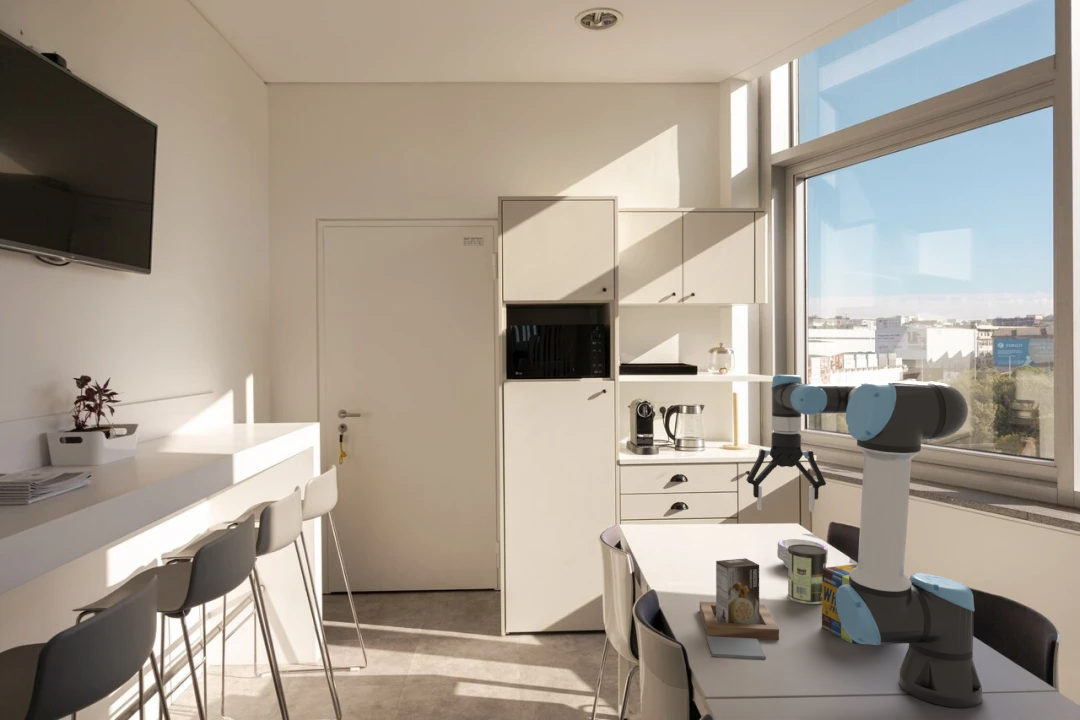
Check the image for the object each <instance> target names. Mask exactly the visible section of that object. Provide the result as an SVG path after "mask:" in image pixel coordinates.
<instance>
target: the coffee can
mask: <svg viewBox="0 0 1080 720" xmlns="http://www.w3.org/2000/svg"><path fill="white" fill-rule="evenodd" d="M826 553H827V551H826V550H825V549H823V548H821V547H818V546H813V545H805V544H797V545H791V546H789V547H788V568H787V571H788V575H787V597H788V599H789V600H792V601H793V602H796V603H799V604H805V605H820V604H821V605H822V572H823V568H827V563H826Z"/></svg>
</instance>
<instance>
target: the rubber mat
mask: <svg viewBox="0 0 1080 720" xmlns="http://www.w3.org/2000/svg"><path fill="white" fill-rule="evenodd" d="M706 641H707V643H708V647H709V649H710V650H709V651H710V654H711V656H712V657H719V658H720V657H721V658H738V659H755V660H756V659H759V660H760V659H761V660H766V659H767V655H766V654H765V652H764V650H763V648H762V645H761V643H760V642H759V640H758V639H756V638H735V637H713V636H708V635H707V636H706Z"/></svg>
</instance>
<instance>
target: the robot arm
mask: <svg viewBox="0 0 1080 720" xmlns="http://www.w3.org/2000/svg"><path fill="white" fill-rule="evenodd" d="M771 385H772V386H771V430H772V432H771V442H770V443H771V448H770V450H769V449H768V450H767V449H763V448H759V450H758V456H757V459H756V461H755V462H754V464H753V466H752V468H751V470H750V472H749V474H748V475H747V477H746V481H747V482H746V483H748V484H750V485H752V486H753V489H752V492H753V493H752V495H753V497H754V498H756V509H757V510H758V511H762V508H763V507H762V505H763V496H762V495H763V487H762V485H761V483H762V482H764V480H765V479H766V478H767V477H768V476H769V475H770V473H771V472H772V471H773V470H774V469H776V468H777V466H778V467H781V468H785V467H788V468H793V467H796V468H797V469H798V470H799V471H800V473H801V474H802V475H803V476H804V477H805V479H807V480H808V482H809V483H810V484H811V485H812V486H811V485H810V486H809V487H808V489H809V490H808V510H809V513H810V512H811V513H815V500H816V501H817V500H818V499H819V489H820V487H822V486H826V485H827V482H826V481H825V478H824V476H823V474H822V472H821V470H820V467H818V465H817V462H816V461H815V456H814V452H813V450H811V449H807V450H804V451H803V450H802V444H801V443H802V434H801V433H800V432H801V431H802V415H804V416H806V415H810V416H813V415H818V414H845V424H846V425H847V430H848V433H849V434H850V436H851V437H852V438H854V440H856V447H857V448H858V449H859V450H860V451H861V452H862V454H863V457H864V458H863V468H862V469H863V470H862V472H863V473H862V488H861V489H862V492H861V503H860V504H861V505H860V520H859V521H860V522H859V541H858V554H857V555H858V556H857V557H858V558H857V563H858V566H857V567H855V568H854V569H852V570H851V571H850V573H849V584H845V585H842V586H840V587H839V588H838V590H837V592H836V607H837V612H838V616H839V619H840V621H841V623H842V626H843V628H844V629H845V631H846V633H847V634H848V635H849V636H850V638H852V639H853V640H854V641H855V642H857V643H858V644H861V645H873V646H880V645H896V644H897V645H898V644H908V648H907V651H906V653H905V656H904V658H903V661H902V664H901V666H900V668H899V672H898V683H899V685H900V688H902V690H904V691H905V692H906V693H908V694H910V695H912V697H914V698H917V699H920V700H922V701H925V702H927V703H931V704H935V705H937V706H942V707H950V708H971V707H975V706H977V705H979V704H980V703H982V700H983V687H982V684H981V680H980V678H979V674H978V671H977V668H976V665H975V662H974V658H973V657H974V656H973V654H974V653H973V652H974V651H973V650H974V615H975V614H974V612H975V603H974V593H973V591H972V590H971V589H970V588H969V586H966V585H965V584H964V583H961V582H958V581H956V580H954V579H952V578H951V579H950V578H947V577H943V576H939V575H936V574H929V573H923V572H921V573H920V572H918V573H917V572H915V573H912V574H911V575H910V576H909V578H908V576H906V575H905V560H906V548H907V547H906V546H907V545H906V544H907V532H908V531H907V529H908V516H909V499H910V484H911V471H912V470H911V468H912V460H913V458H914V457H916V456H917V455H918V454H920V453H921V450H922V440H941V439H944V438H948V437H950V436H952V435H954V434H956V433H957V432H958V431H960V430H961V428H963V426H964V425H965V423H966V421H967V418H968V414H969V408H968V403H967V401H966V398H965V397H964V395H963V394H962V393H961V392H960V391H959V390H958V389H956V388H955V387H953V386H952V385H949V384H946V383H943V382H938V381H896V380H895V381H892V380H891V381H888V380H881V381H871V382H865V383H852V384H851V383H850V384H849V383H843V384H842V383H838V384H836V383H831V384H830V383H827V384H826V383H803V382H802V377H801V376H800V375H799V374H798V375H797V374H776V375H774V376H773V377H772V383H771ZM769 455H770V457H771V458H772V459H771V461H769V463H768V464H767V466H766V467H765V468H764V469H762V471H761V472H760V473H759V474H758V472H759V470H760V468H761V467H762V464H763V463H764V460H765V459H766V458H768V456H769ZM803 456H804V458H805V459H806V460H807V461H808V463H809V465H810V467H811V469H812V471H813V474H814V475H815V477H816V479H817V481H816V480H815V478H814V477H813V476H812V474H811V473H810V472H808V470H807V469H806V467H804V465H803V464H802V463H801V462H800V460H801V459H802V457H803ZM757 474H758V475H757ZM756 475H757V476H756Z"/></svg>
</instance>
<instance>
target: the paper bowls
mask: <svg viewBox="0 0 1080 720" xmlns="http://www.w3.org/2000/svg"><path fill="white" fill-rule="evenodd" d="M797 544H805V545H813V546H818V547H821V548H823V549H825V550H826V551H827V553H826V564H828V558H829V557H828V552H829V549H828V547H827V545H825V544H823V543H821V542H818V541H814V540H811V539H805V538H791V537H790V538H783V539H780V540H778V541H777V558H778V559H779V560H781V561H783V564H784V566H785V567H786V568H787V569H788V547H789V546H791V545H797Z"/></svg>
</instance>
